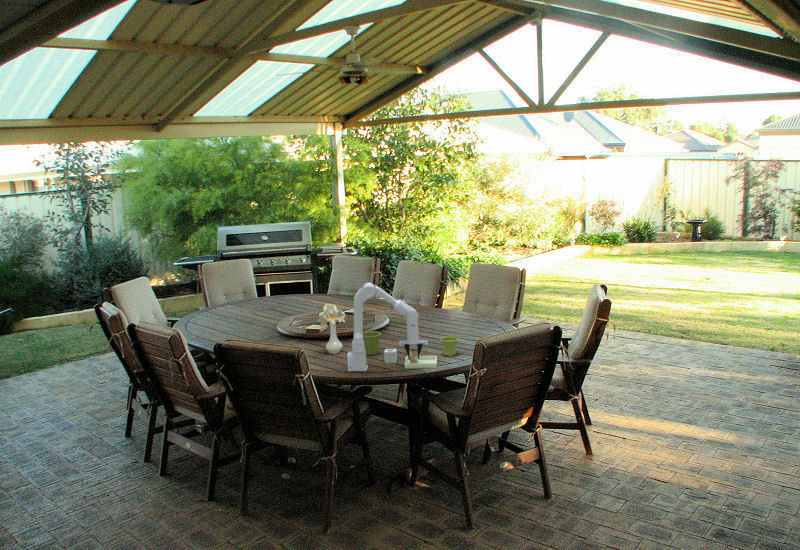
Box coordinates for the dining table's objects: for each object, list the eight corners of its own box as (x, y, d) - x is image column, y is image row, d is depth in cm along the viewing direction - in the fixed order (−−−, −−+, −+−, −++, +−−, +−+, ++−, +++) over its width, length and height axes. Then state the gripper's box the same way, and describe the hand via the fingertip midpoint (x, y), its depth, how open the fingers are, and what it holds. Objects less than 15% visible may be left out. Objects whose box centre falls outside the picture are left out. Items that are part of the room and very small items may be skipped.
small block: (409, 363, 317) (409, 351, 316) (410, 360, 321) (409, 349, 320) (417, 362, 316) (417, 351, 316) (418, 360, 320) (417, 349, 319)
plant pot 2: (456, 351, 341) (455, 336, 339) (460, 356, 332) (460, 340, 330) (439, 353, 339) (439, 337, 338) (443, 357, 330) (442, 341, 329)
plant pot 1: (379, 356, 337) (378, 336, 336) (358, 356, 340) (356, 336, 338) (384, 350, 349) (383, 331, 347) (363, 350, 351) (362, 331, 349)
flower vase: (316, 356, 343) (313, 311, 340) (331, 347, 360) (328, 305, 357) (337, 357, 339) (335, 312, 335) (352, 348, 356) (349, 305, 352)
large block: (384, 363, 325) (384, 352, 324) (385, 360, 331) (385, 349, 330) (396, 363, 324) (395, 351, 324) (397, 359, 330) (396, 348, 330)
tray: (404, 369, 313) (404, 364, 313) (406, 361, 327) (406, 356, 327) (436, 368, 312) (436, 363, 312) (436, 360, 326) (436, 355, 326)
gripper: (398, 334, 313) (399, 361, 315) (427, 334, 312) (428, 360, 314) (398, 331, 320) (400, 357, 322) (427, 330, 319) (428, 356, 321)
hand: (413, 358), depth 318 cm, fingers closed on small block, 4 cm apart
